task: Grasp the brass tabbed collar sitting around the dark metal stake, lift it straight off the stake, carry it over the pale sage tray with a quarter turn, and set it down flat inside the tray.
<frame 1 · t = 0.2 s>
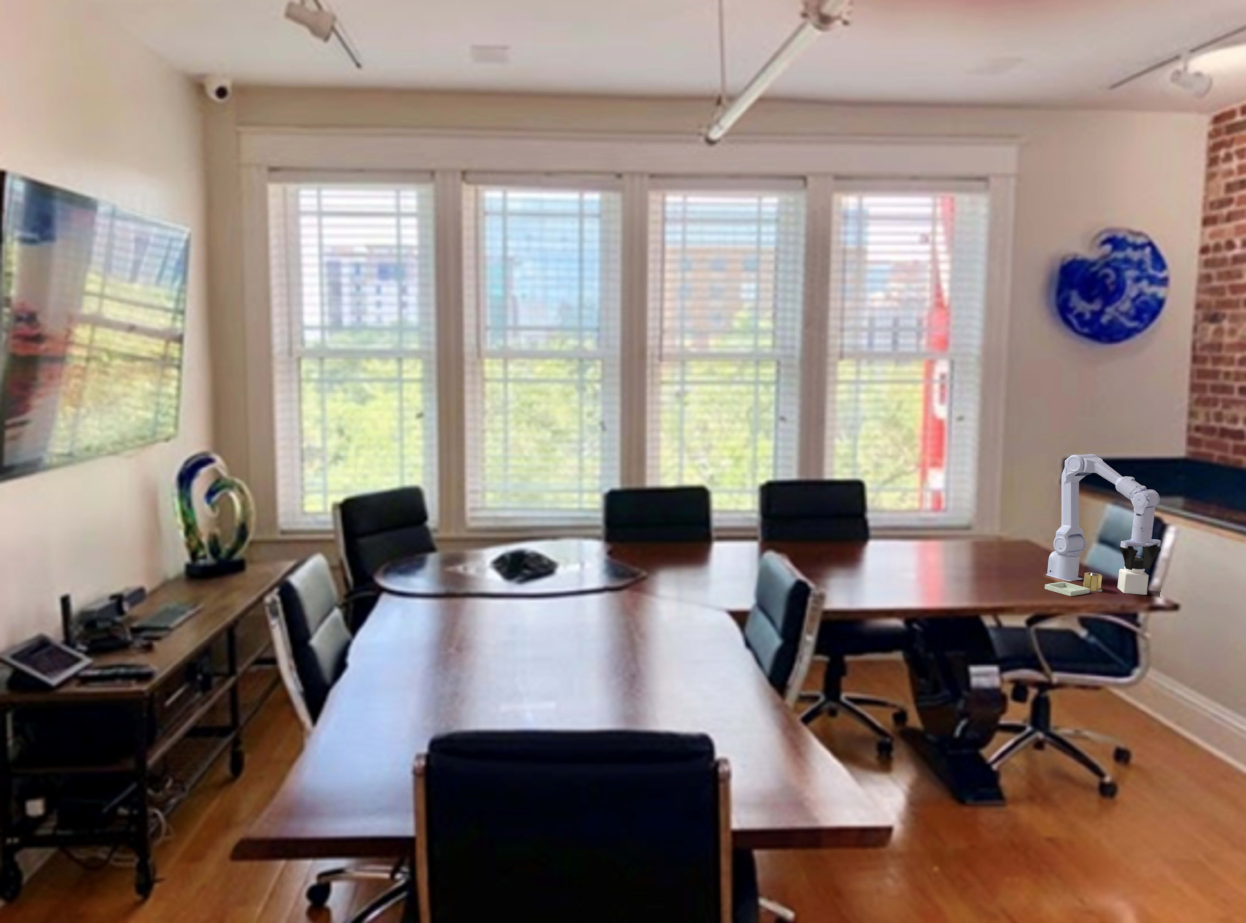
hand: (1137, 568, 312), 10 cm above the table, fingers open, 7 cm apart
collar: (1091, 589, 321), point 1 cm above the table, touching stake
tray: (1066, 592, 318), on the table
medicine bottle: (1131, 593, 320), on the table
stake: (1091, 590, 321), on the table
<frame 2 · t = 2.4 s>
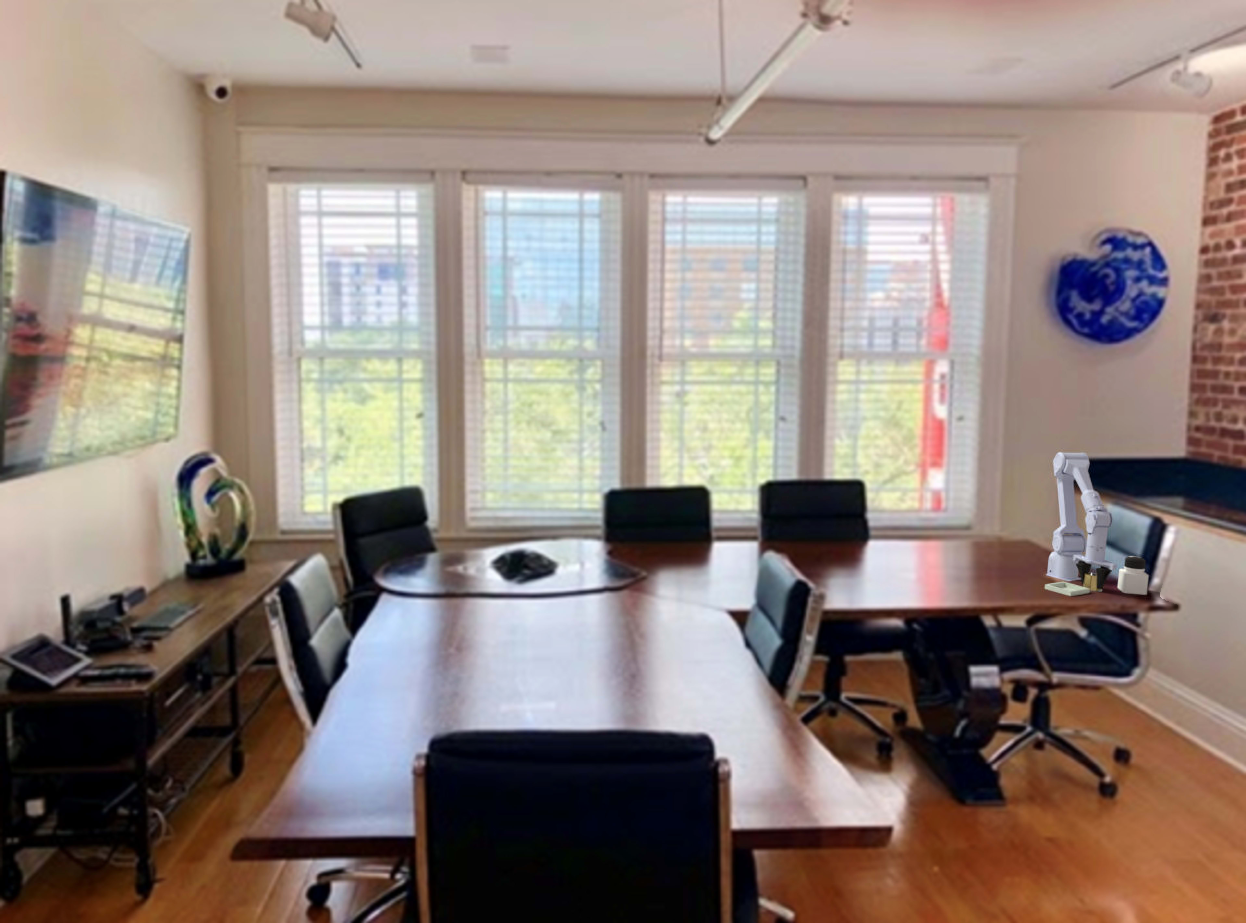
hand: (1092, 586, 321), 2 cm above the table, fingers closed on collar, 5 cm apart
collar: (1091, 589, 321), point 1 cm above the table, touching gripper, stake
everything else where it was.
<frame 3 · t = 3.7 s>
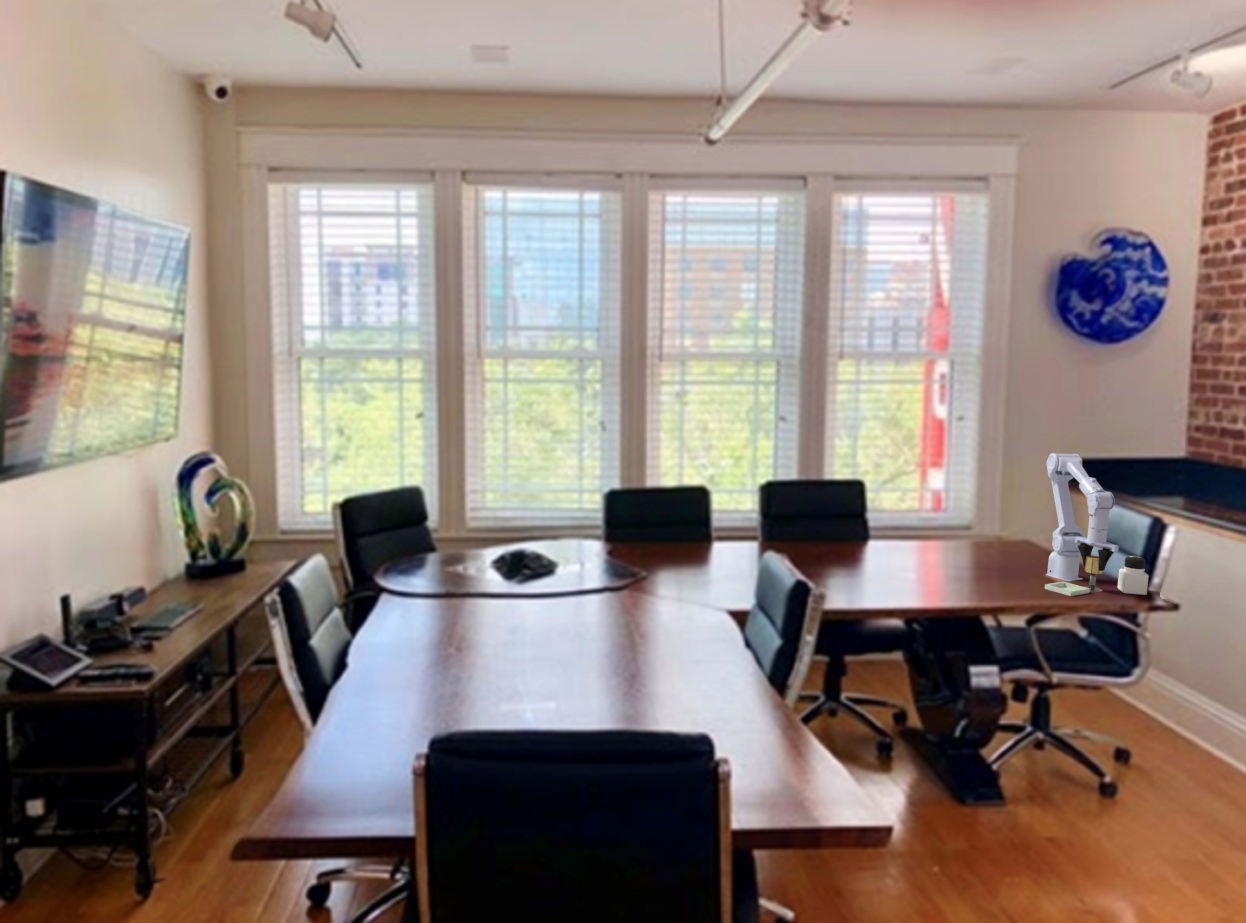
hand: (1093, 568, 320), 8 cm above the table, fingers closed on collar, 5 cm apart
collar: (1093, 571, 320), point 6 cm above the table, touching gripper
everything else where it was.
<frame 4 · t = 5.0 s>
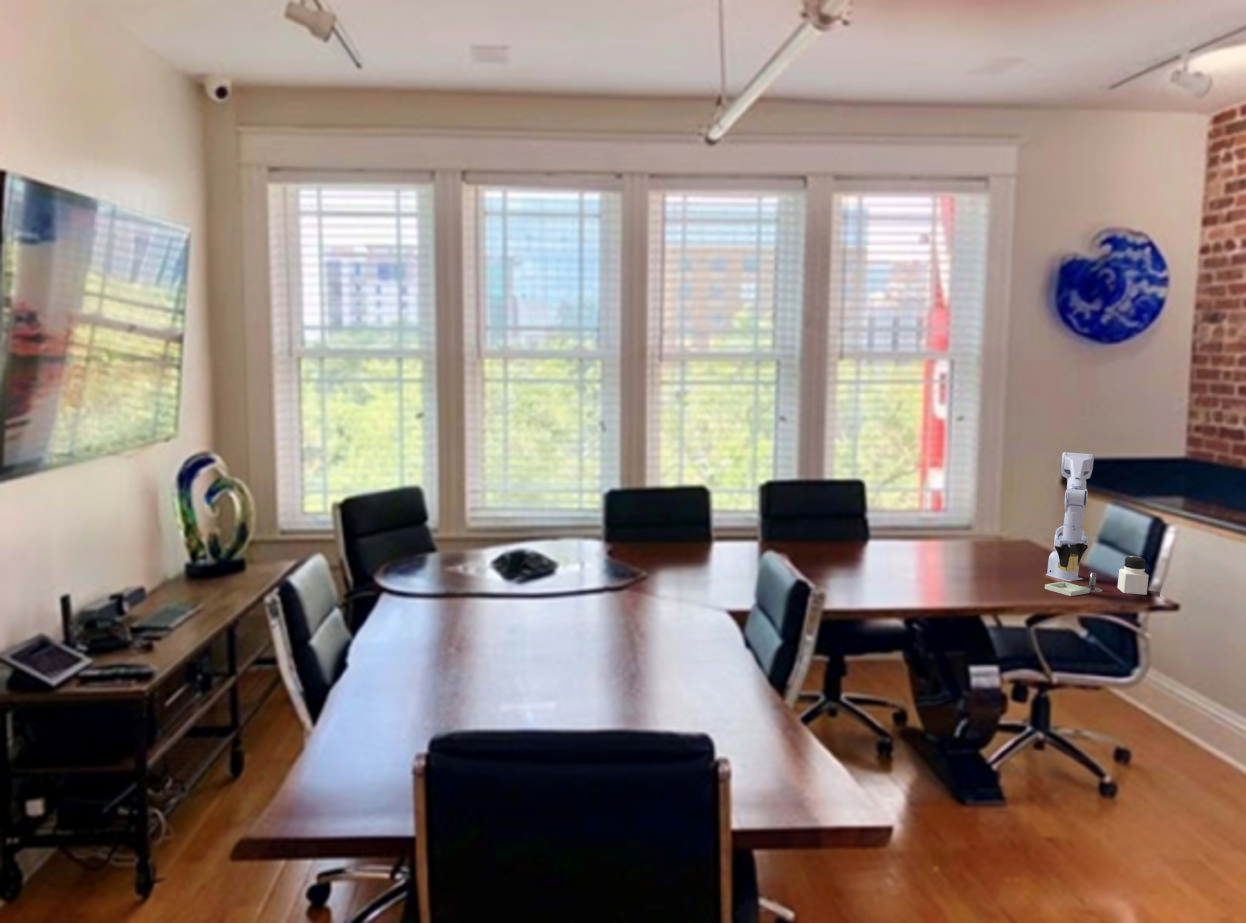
hand: (1069, 566, 317), 9 cm above the table, fingers closed on collar, 5 cm apart
collar: (1068, 569, 317), point 8 cm above the table, touching gripper
everything else where it was.
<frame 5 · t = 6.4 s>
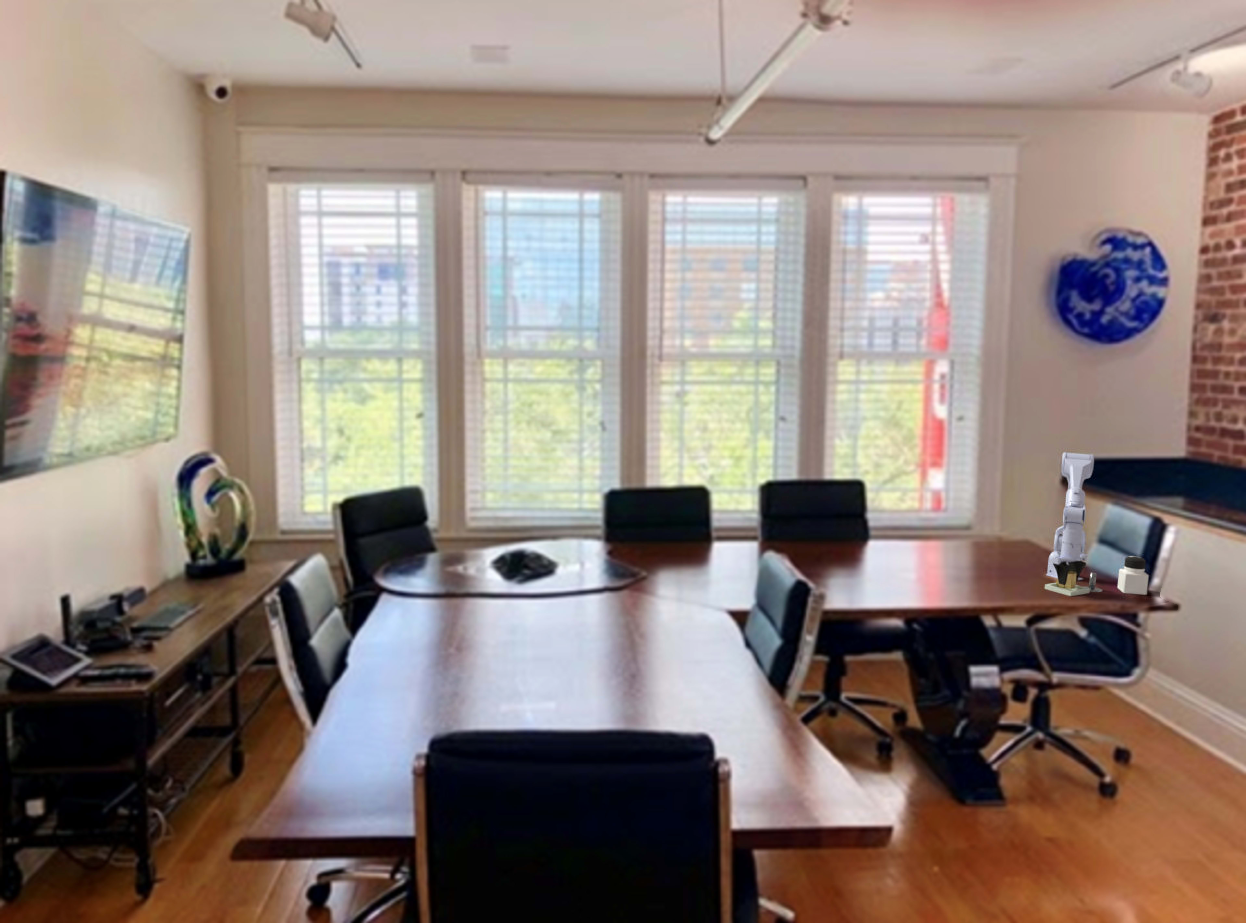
hand: (1067, 583, 317), 3 cm above the table, fingers closed on collar, 5 cm apart
collar: (1066, 587, 318), point 2 cm above the table, touching gripper
everything else where it was.
when the fingers open (3 cm above the table, at t = 7.3 s): collar drops 1 cm, resting on tray.
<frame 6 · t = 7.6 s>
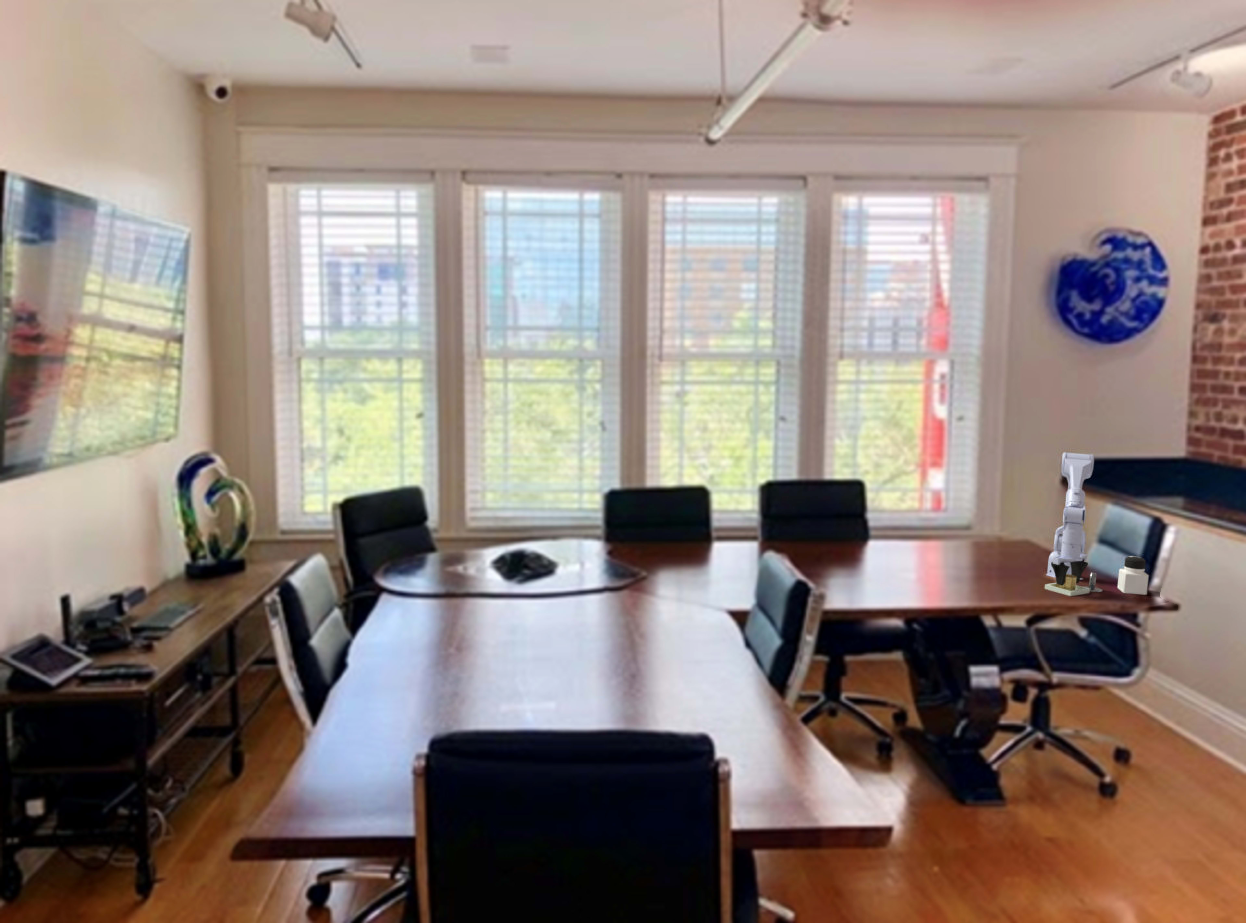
hand: (1067, 583, 317), 3 cm above the table, fingers open, 7 cm apart
collar: (1066, 590, 318), point 1 cm above the table, touching tray
everything else where it was.
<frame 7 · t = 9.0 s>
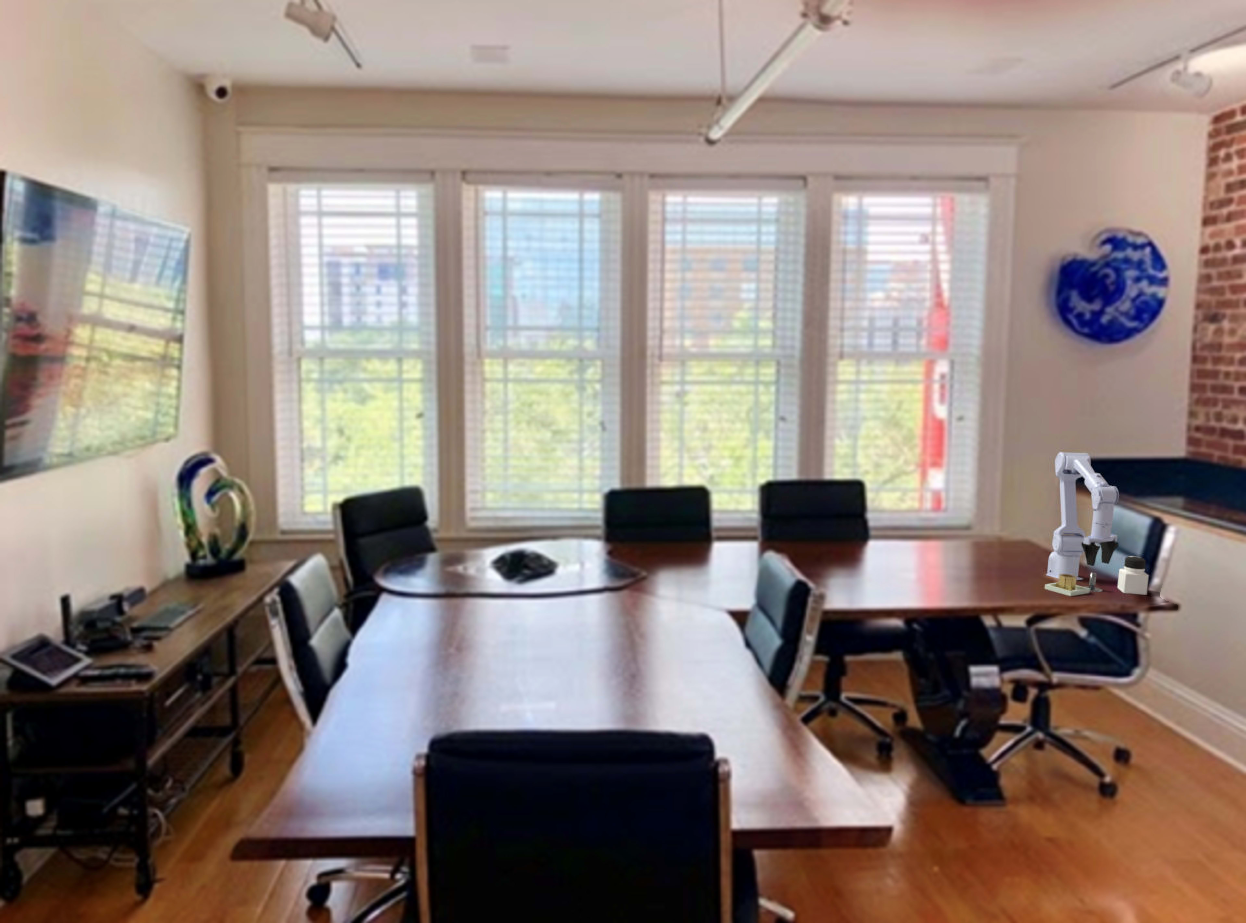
hand: (1097, 564, 314), 10 cm above the table, fingers open, 7 cm apart
nothing on the table moved.
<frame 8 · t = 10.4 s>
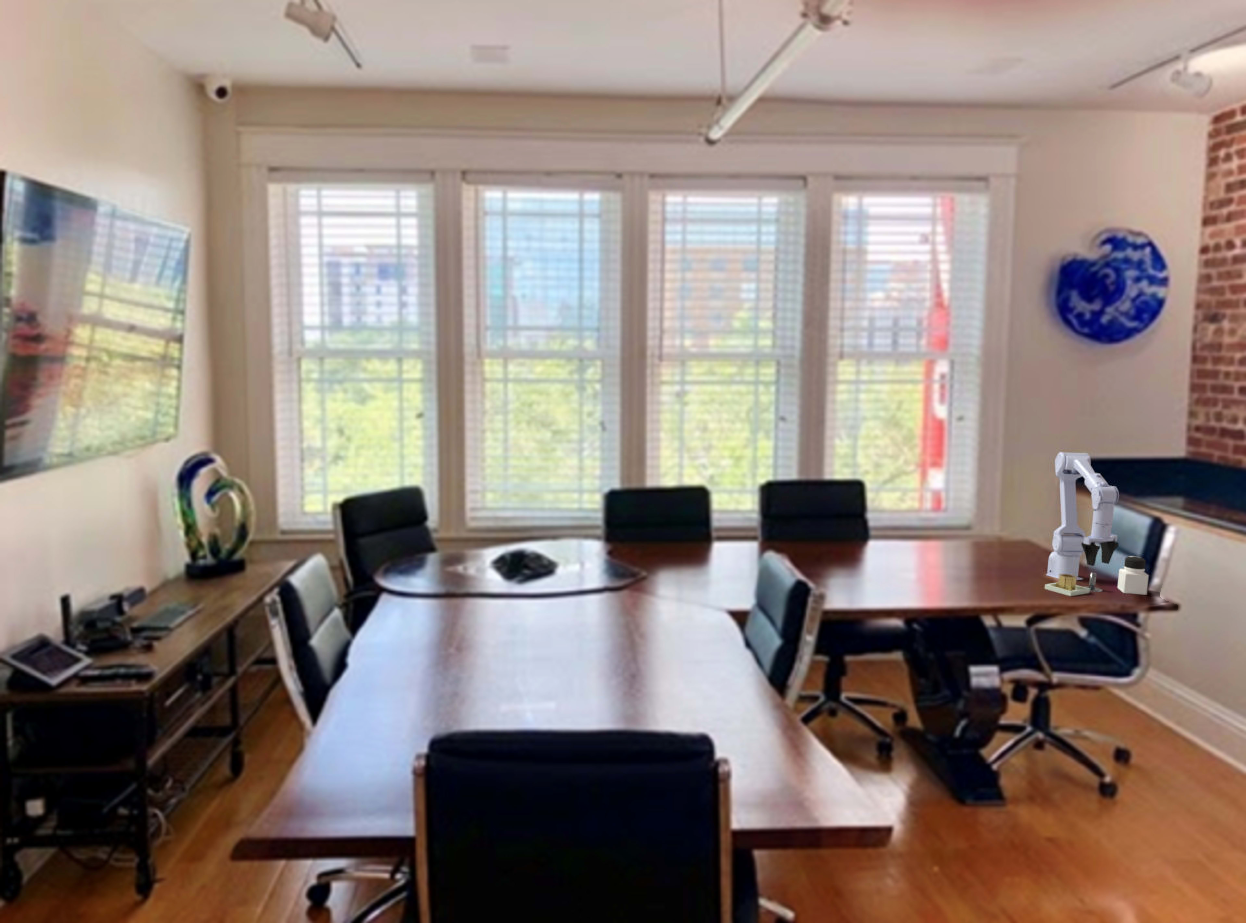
hand: (1098, 564, 314), 10 cm above the table, fingers open, 7 cm apart
nothing on the table moved.
at the end: collar 0.2 cm off-centre on the tray, point 0.6 cm above the tray's base; collar tilted 0°; the gripper is holding nothing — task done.
